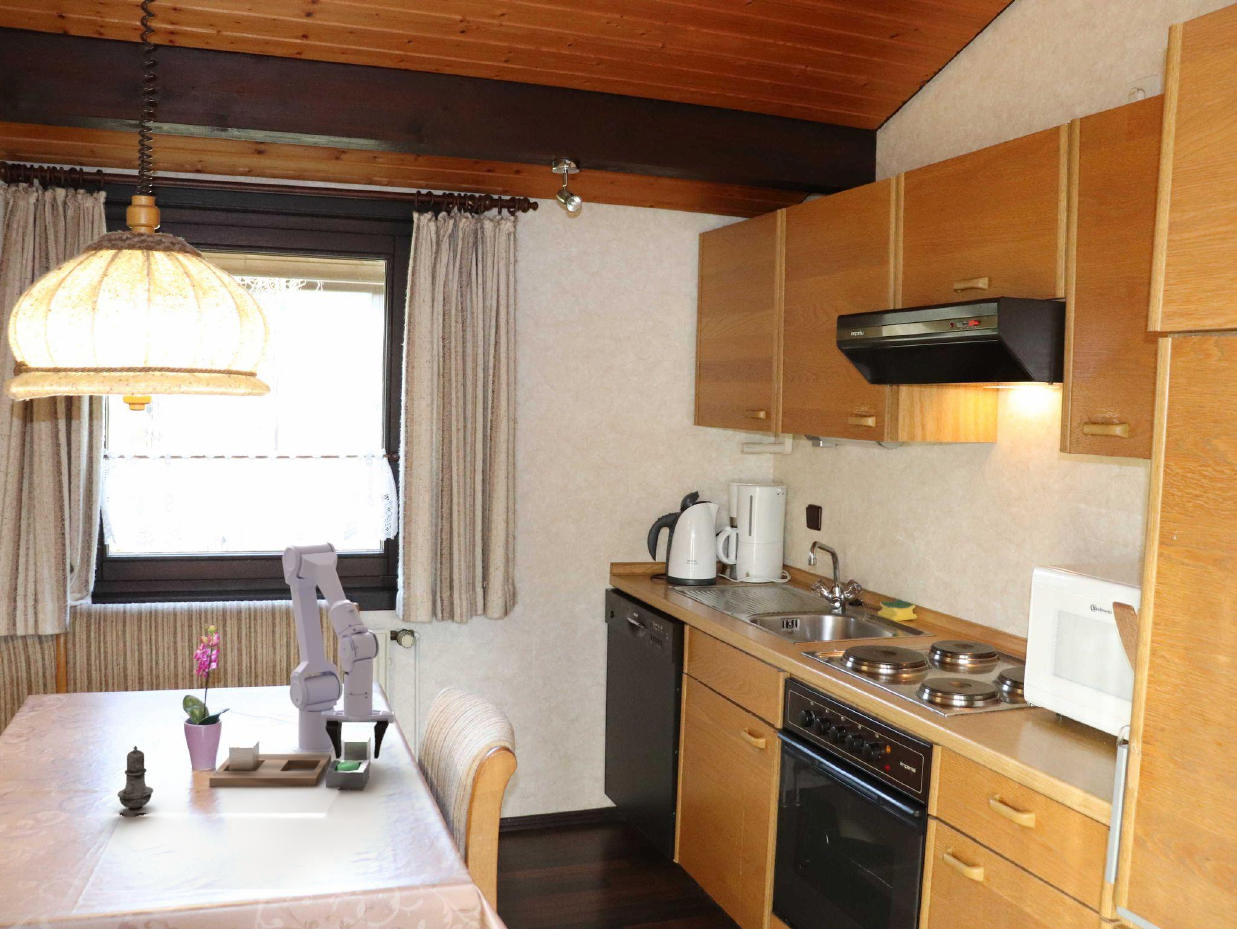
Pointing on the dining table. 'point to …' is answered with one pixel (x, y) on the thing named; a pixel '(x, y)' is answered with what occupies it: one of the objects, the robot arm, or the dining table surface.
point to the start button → (348, 765)
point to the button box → (348, 776)
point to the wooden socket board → (275, 772)
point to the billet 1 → (244, 755)
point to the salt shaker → (135, 784)
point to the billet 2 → (357, 747)
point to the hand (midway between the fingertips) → (357, 757)
